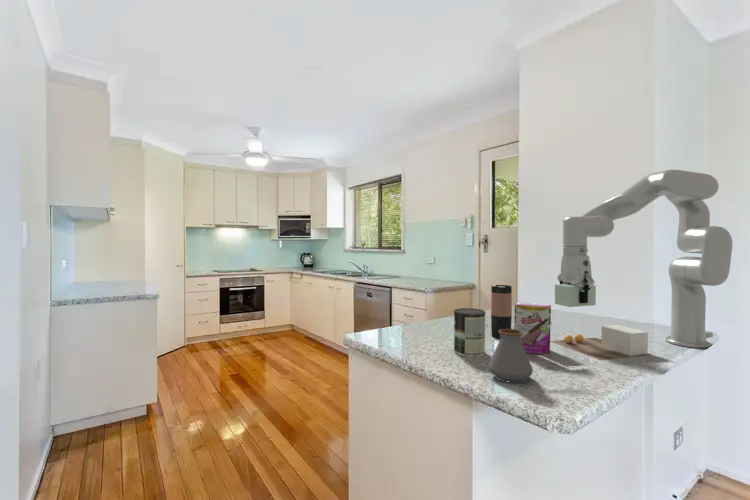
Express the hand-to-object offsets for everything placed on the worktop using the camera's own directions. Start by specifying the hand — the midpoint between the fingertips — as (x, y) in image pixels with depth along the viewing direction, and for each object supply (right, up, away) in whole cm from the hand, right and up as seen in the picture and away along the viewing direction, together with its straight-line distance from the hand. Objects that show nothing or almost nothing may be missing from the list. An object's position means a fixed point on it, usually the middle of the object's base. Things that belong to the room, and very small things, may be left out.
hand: (574, 300), depth 134 cm
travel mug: (-22, -16, +13) cm, 30 cm away
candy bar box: (-19, -17, -8) cm, 26 cm away
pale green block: (0, -1, 0) cm, 1 cm away
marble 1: (-2, -14, 0) cm, 14 cm away
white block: (+12, -15, -8) cm, 21 cm away
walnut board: (+5, -16, -5) cm, 18 cm away
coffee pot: (-30, -17, -29) cm, 45 cm away
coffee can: (-40, -17, -7) cm, 44 cm away
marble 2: (+2, -14, +1) cm, 14 cm away
